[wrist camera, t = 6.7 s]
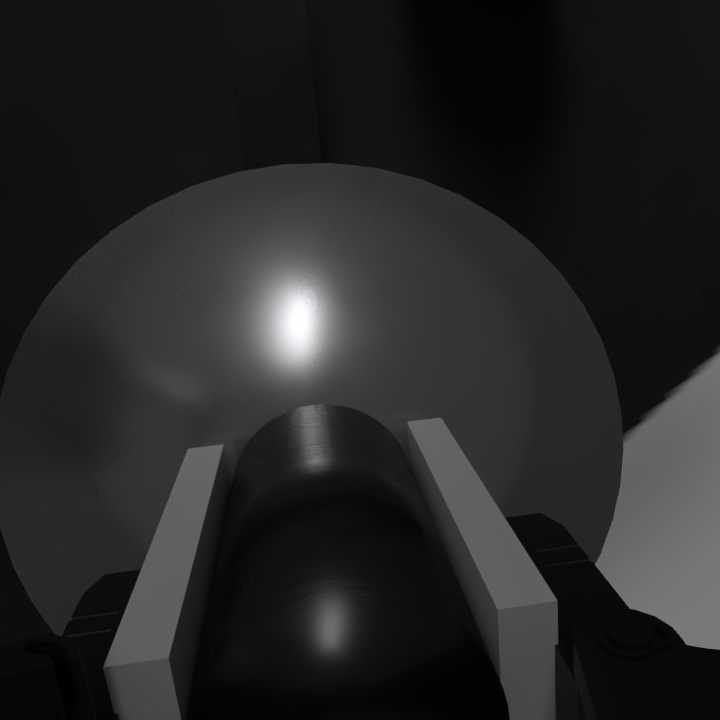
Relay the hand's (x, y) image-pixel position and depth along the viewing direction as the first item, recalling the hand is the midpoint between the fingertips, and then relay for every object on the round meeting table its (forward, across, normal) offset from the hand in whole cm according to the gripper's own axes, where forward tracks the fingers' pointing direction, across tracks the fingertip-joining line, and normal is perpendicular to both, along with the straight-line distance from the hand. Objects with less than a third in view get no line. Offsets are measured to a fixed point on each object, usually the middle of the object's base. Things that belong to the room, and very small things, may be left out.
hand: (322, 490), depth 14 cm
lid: (+1, 0, 0) cm, 1 cm away
